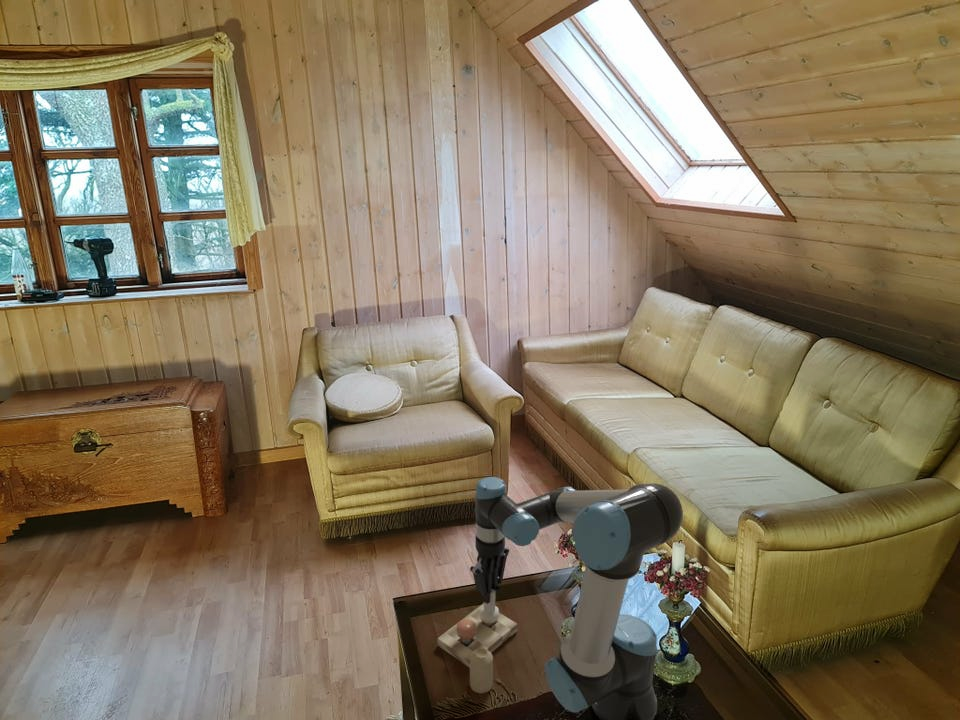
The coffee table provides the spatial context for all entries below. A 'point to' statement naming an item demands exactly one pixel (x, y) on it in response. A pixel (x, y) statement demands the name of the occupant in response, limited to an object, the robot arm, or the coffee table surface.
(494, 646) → the cream compartment tray
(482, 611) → the white round piece
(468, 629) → the pink light bulb
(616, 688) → the robot arm
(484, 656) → the cream bottle
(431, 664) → the coffee table surface
